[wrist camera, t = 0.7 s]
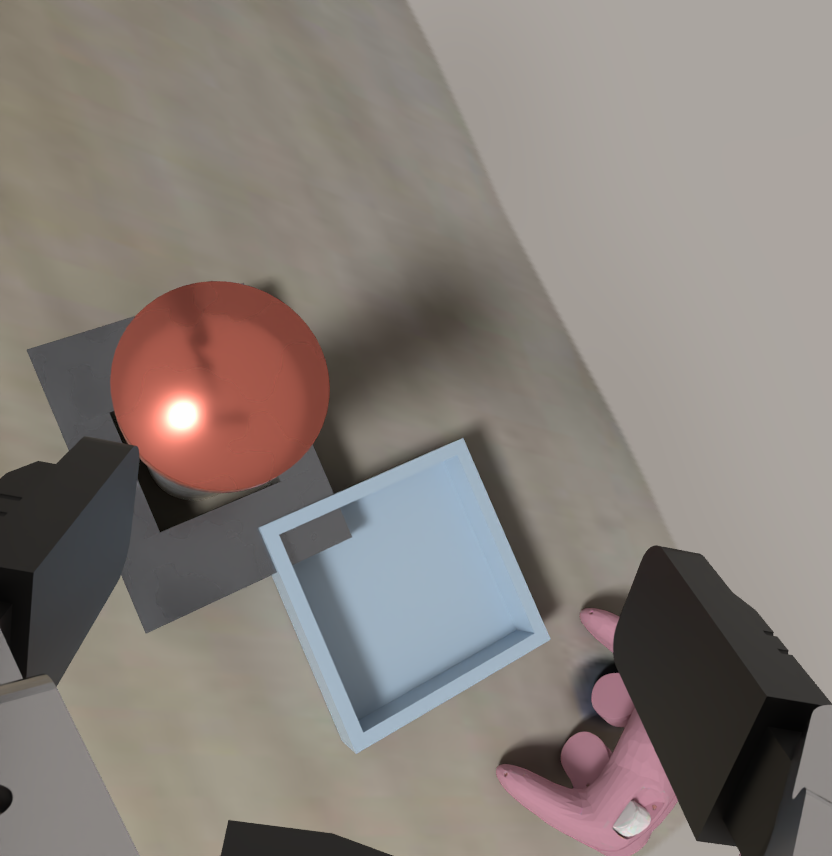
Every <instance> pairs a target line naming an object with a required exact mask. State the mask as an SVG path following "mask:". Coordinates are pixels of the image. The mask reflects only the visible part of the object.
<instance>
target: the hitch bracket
mask: <svg viewBox="0 0 832 856" xmlns="http://www.w3.org/2000/svg"><path fill="white" fill-rule="evenodd" d="M242 284H243V285H244V283H242ZM134 318H135V317H131V318H128V319H125V320H122V321H118V322H115V323H112V324H109V325H105V326H102V327H99V328H96V329H92V330H89V331H86V332H83V333H79V334H76V335H73V336H70V337H66V338H63V339H60V340H57V341H53V342H50V343H47V344H44V345H40V346H37V347H34V348H31V349H27V352H28V354H29V357H30V359H31V361H32V364H33V366H34V369H35V371H36V373H37V376H38V378H39V380H40V383H41V385H42V388H43V390H44V392H45V395H46V397H47V400H48V402H49V404H50V407H51V409H52V411H53V414H54V416H55V419H56V421H57V423H58V426H59V428H60V430H61V433H62V435H63V438H64V440H65V442H66V445H67V447H68V449H69V451H70V450H71V449H72V448H73V447H74V446H75V444H76V443H77V442H78V441H79V440H80V439H81V438H83V437H85V436H87V437H92V438H98V439H103V440H108V441H113V442H119V443H122V441H121V439H120V437H119V434H118V432H117V429H116V427H115V425H114V422H113V420H116V416H115V412H114V407H113V402H112V397H111V385H110V377H111V367H112V362H113V358H114V354H115V350H116V348H117V345H118V343H119V341H120V338H121V336H122V335H123V333H124V331H125V330H126V328H127V326H128V325H129V324H130V323H131V321H132V320H133V319H134ZM271 482H272V484H273V485H272V486H269V487H267V488H265V489H262V490H260V491H257V492H255V493H253V494H250V495H248V496H246V497H243V498H241V499H238V500H236V501H234V502H231V503H229V504H226V505H224V506H222V507H219V508H217V509H215V510H212V511H210V512H207V513H205V514H203V515H200V516H198V517H195V518H193V519H191V520H188V521H186V522H184V523H181V524H179V525H176V526H174V527H172V528H169V529H167V530H165V531H162V532H160V531H159V529H158V527H157V524H156V522H155V519H154V517H153V515H152V512H151V510H150V508H149V505H148V503H147V501H146V498H145V496H144V493H143V491H142V489H141V486H140V484H139V482H138V479H137V486H136V494H135V503H134V511H133V520H132V528H131V537H130V544H129V549H128V553H127V557H126V561H125V564H124V567H123V570H122V573H121V576H122V578H123V580H124V583H125V585H126V587H127V590H128V592H129V595H130V597H131V599H132V602H133V604H134V607H135V609H136V611H137V614H138V616H139V618H140V621H141V623H142V626H143V628H144V630H145V633H148V632H150V631H153V630H155V629H157V628H159V627H161V626H163V625H165V624H168V623H170V622H172V621H174V620H176V619H178V618H180V617H183V616H185V615H187V614H189V613H191V612H193V611H195V610H198V609H200V608H202V607H204V606H206V605H208V604H210V603H212V602H215V601H217V600H219V599H221V598H223V597H225V596H227V595H230V594H232V593H234V592H236V591H238V590H240V589H242V588H245V587H247V586H249V585H251V584H253V583H255V582H257V581H260V580H262V579H264V578H266V577H268V576H270V575H272V574H275V573H277V570H276V568H275V566H274V563H273V561H272V558H271V556H270V554H269V551H268V549H267V547H266V544H265V542H264V540H263V537H262V535H261V533H260V530H259V527H261V526H263V525H266V524H268V523H270V522H273V521H275V520H277V519H279V518H282V517H284V516H286V515H289V514H291V513H293V512H295V511H298V510H300V509H302V508H304V507H307V506H309V505H311V504H314V503H316V502H318V501H320V500H323V499H325V498H327V497H330V496H332V495H334V493H333V491H332V488H331V486H330V484H329V481H328V479H327V477H326V474H325V472H324V470H323V467H322V465H321V463H320V460H319V458H318V456H317V453H316V451H315V449H314V446H313V444H312V446H311V447H310V449H309V450H308V451H307V452H306V453H305V455H304V456H303V457H302V458H301V459H300V460H299V461H298V462H297V463H295V464H294V465H293V466H292V467H291V468H289V469H288V470H286V471H285V472H283V473H282V474H280V475H279V476H277V477H276V478H274V479H273V480H271ZM279 536H280V538H281V541H282V543H283V545H284V548H285V550H286V552H287V555H288V557H289V559H290V562H291V564H292V565H294V564H296V563H298V562H300V561H302V560H305V559H307V558H309V557H311V556H313V555H315V554H317V553H320V552H322V551H324V550H326V549H328V548H330V547H332V546H335V545H337V544H339V543H341V542H343V541H345V540H347V539H350V538H352V535H351V533H350V530H349V528H348V526H347V523H346V521H345V519H344V516H343V514H342V512H341V509H340V508H338V509H335V510H333V511H331V512H329V513H326V514H324V515H322V516H320V517H318V518H315V519H313V520H311V521H309V522H306V523H304V524H302V525H300V526H297V527H295V528H293V529H291V530H288V531H286V532H284V533H282V534H280V535H279Z"/></svg>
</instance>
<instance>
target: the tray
mask: <svg viewBox="0 0 832 856" xmlns="http://www.w3.org/2000/svg"><path fill="white" fill-rule="evenodd" d="M338 508H340V509H341V512H342V514H343V516H344V519H345V521H346V523H347V526H348V528H349V530H350V533H351V535H352V538H350V539H347V540H345V541H343V542H341V543H339V544H337V545H335V546H332V547H330V548H328V549H326V550H324V551H322V552H320V553H317V554H315V555H313V556H311V557H309V558H307V559H305V560H302V561H300V562H298V563H296V564H294V565H292V564H291V562H290V559H289V557H288V555H287V552H286V550H285V548H284V545H283V543H282V541H281V538H280V536H279V535H280V534H282V533H284V532H286V531H288V530H291V529H293V528H295V527H297V526H300V525H302V524H304V523H306V522H309V521H311V520H313V519H315V518H318V517H320V516H322V515H324V514H326V513H329V512H331V511H333V510H335V509H338ZM259 530H260V533H261V535H262V537H263V540H264V542H265V544H266V547H267V549H268V551H269V554H270V556H271V558H272V561H273V563H274V566H275V568H276V570H277V573H275V574H272V577H273V580H274V582H275V584H276V587H277V589H278V591H279V594H280V596H281V599H282V601H283V603H284V606H285V608H286V610H287V613H288V615H289V617H290V620H291V622H292V624H293V627H294V629H295V631H296V634H297V636H298V639H299V641H300V643H301V646H302V648H303V650H304V653H305V655H306V657H307V660H308V662H309V664H310V667H311V669H312V671H313V674H314V676H315V678H316V681H317V683H318V686H319V688H320V690H321V693H322V695H323V697H324V700H325V702H326V704H327V707H328V709H329V711H330V714H331V716H332V718H333V721H334V723H335V725H336V728H337V730H338V733H339V735H340V737H341V740H342V741H343V742H344V743H345V744H346V745H347V746H348V747H349V748H350V749H351V750H353V751H354V752H355V753H356V754H357V753H358V752H360V751H362V750H364V749H365V748H367V747H369V746H370V745H372V744H374V743H375V742H377V741H379V740H381V739H382V738H384V737H386V736H387V735H389V734H391V733H392V732H394V731H396V730H398V729H399V728H401V727H403V726H404V725H406V724H408V723H409V722H411V721H413V720H415V719H416V718H418V717H420V716H421V715H423V714H425V713H426V712H428V711H430V710H432V709H433V708H435V707H437V706H438V705H440V704H442V703H443V702H445V701H447V700H449V699H450V698H452V697H454V696H455V695H457V694H459V693H460V692H462V691H464V690H466V689H467V688H469V687H471V686H472V685H474V684H476V683H477V682H479V681H481V680H483V679H484V678H486V677H488V676H489V675H491V674H493V673H494V672H496V671H498V670H500V669H501V668H503V667H505V666H506V665H508V664H510V663H511V662H513V661H515V660H517V659H518V658H520V657H522V656H523V655H525V654H527V653H528V652H530V651H532V650H534V649H535V648H537V647H539V646H540V645H542V644H544V643H545V642H547V641H549V640H551V639H550V637H549V635H548V632H547V630H546V628H545V625H544V623H543V621H542V619H541V616H540V614H539V612H538V609H537V607H536V605H535V602H534V600H533V598H532V595H531V593H530V591H529V589H528V586H527V584H526V582H525V579H524V577H523V575H522V572H521V570H520V568H519V566H518V563H517V561H516V559H515V556H514V554H513V552H512V549H511V547H510V545H509V542H508V540H507V538H506V536H505V533H504V531H503V529H502V526H501V524H500V522H499V519H498V517H497V515H496V513H495V510H494V508H493V506H492V503H491V501H490V499H489V496H488V494H487V492H486V490H485V487H484V485H483V483H482V480H481V478H480V476H479V473H478V471H477V469H476V466H475V464H474V462H473V460H472V457H471V455H470V453H469V450H468V448H467V446H466V443H465V441H464V439H463V438H462V439H459V440H457V441H454V442H452V443H449V444H447V445H444V446H442V447H440V448H437V449H435V450H433V451H431V452H428V453H426V454H424V455H421V456H419V457H417V458H415V459H412V460H410V461H408V462H405V463H403V464H401V465H399V466H396V467H394V468H392V469H390V470H387V471H385V472H383V473H380V474H378V475H376V476H374V477H371V478H369V479H367V480H364V481H362V482H360V483H358V484H355V485H353V486H351V487H348V488H346V489H344V490H342V491H339V492H337V493H335V494H334V495H332V496H330V497H327V498H325V499H323V500H320V501H318V502H316V503H314V504H311V505H309V506H307V507H304V508H302V509H300V510H298V511H295V512H293V513H291V514H289V515H286V516H284V517H282V518H279V519H277V520H275V521H273V522H270V523H268V524H266V525H263V526H261V527H259Z"/></svg>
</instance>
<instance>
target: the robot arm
mask: <svg viewBox="0 0 832 856" xmlns="http://www.w3.org/2000/svg"><path fill="white" fill-rule="evenodd" d="M138 469H139V449H138V447H137V446H135V445H129V444H124V443H119V442H113V441H108V440H103V439H98V438H92V437H87V436H85V437H83V438H81V439H80V440H79V441H78V442H77V443H76V444H75V446H74V447H73V448H72V449H71V450H70V451H69V452H68V453H67V454H66V455H65V456H64V457H63V458H62V459H61V460H60V461H59V462H58V463H57V464H52V463H46V462H41V461H37V462H34V463H32V464H29V465H27V466H24V467H21V468H19V469H16V470H14V471H11V472H8V473H6V474H5V475H4V476H3V477H2V478H0V856H140V855H139V853H138V851H137V849H136V847H135V845H134V843H133V841H132V839H131V837H130V835H129V833H128V831H127V829H126V827H125V825H124V823H123V821H122V819H121V817H120V815H119V813H118V811H117V809H116V807H115V805H114V803H113V801H112V798H111V796H110V794H109V792H108V790H107V788H106V786H105V784H104V782H103V780H102V778H101V776H100V774H99V772H98V770H97V768H96V766H95V764H94V762H93V760H92V758H91V756H90V754H89V752H88V750H87V748H86V746H85V744H84V742H83V740H82V738H81V736H80V734H79V732H78V730H77V728H76V726H75V724H74V722H73V719H72V717H71V715H70V713H69V711H68V709H67V707H66V705H65V703H64V701H63V699H62V697H61V695H60V693H59V691H58V689H57V685H58V683H59V681H60V680H61V678H62V676H63V675H64V673H65V671H66V669H67V668H68V666H69V664H70V663H71V661H72V659H73V657H74V656H75V654H76V652H77V651H78V649H79V647H80V645H81V644H82V642H83V640H84V639H85V637H86V635H87V633H88V632H89V630H90V628H91V627H92V625H93V623H94V621H95V620H96V618H97V616H98V615H99V613H100V611H101V609H102V608H103V606H104V604H105V603H106V601H107V599H108V597H109V596H110V594H111V592H112V591H113V589H114V587H115V585H116V584H117V582H118V580H119V578H120V576H121V573H122V570H123V567H124V564H125V561H126V557H127V553H128V549H129V544H130V537H131V528H132V520H133V511H134V503H135V494H136V486H137V478H138ZM773 633H774V632H773V631H772V630H771V628H770V627H769V626H768V625H767V624H766V623H765V621H764V620H763V619H762V617H761V616H760V615H759V614H758V613H757V611H755V610H754V609H753V608H752V607H751V606H749V605H748V604H747V603H746V602H744V601H743V600H742V599H740V598H739V597H738V596H736V595H735V594H734V593H733V592H732V591H731V590H730V589H729V588H728V586H727V585H726V584H725V583H724V581H723V580H722V579H721V577H720V576H719V575H718V574H717V572H716V571H715V570H714V569H713V567H712V566H711V565H710V564H709V562H708V561H707V560H706V559H705V557H703V555H701V554H698V553H693V552H688V551H682V550H677V549H672V548H667V547H661V546H652V547H650V548H649V549H648V550H647V551H646V553H645V554H644V556H643V558H642V561H641V563H640V566H639V568H638V571H637V573H636V576H635V579H634V581H633V584H632V586H631V589H630V592H629V594H628V597H627V599H626V602H625V605H624V607H623V610H622V612H621V615H620V618H619V620H618V623H617V626H616V629H615V633H614V639H613V655H614V661H615V665H616V667H617V670H618V672H619V674H620V676H621V678H622V680H623V683H624V685H625V687H626V689H627V691H628V693H629V696H630V698H631V700H632V702H633V704H634V706H635V709H636V711H637V713H638V715H639V717H640V719H641V722H642V724H643V726H644V728H645V730H646V732H647V735H648V737H649V739H650V741H651V743H652V745H653V748H654V750H655V752H656V754H657V756H658V758H659V761H660V763H661V765H662V767H663V769H664V771H665V774H666V776H667V778H668V780H669V782H670V784H671V787H672V789H673V791H674V793H675V795H676V797H677V800H678V802H679V804H680V806H681V808H682V810H683V813H684V815H685V817H686V819H687V821H688V823H689V826H690V828H691V830H692V832H693V834H694V836H695V838H696V841H701V842H708V843H715V844H722V845H730V846H737V847H738V849H739V851H740V854H739V856H832V703H831V702H830V701H829V700H828V698H827V697H826V696H825V695H824V693H823V692H822V691H821V690H820V689H819V687H818V686H817V685H816V684H815V682H814V681H813V680H812V679H811V678H810V676H809V675H808V674H807V673H806V672H805V670H804V669H803V668H802V666H801V665H800V664H799V663H798V662H797V660H796V659H795V658H794V657H793V655H788V649H787V648H786V647H785V646H784V644H783V643H782V642H781V641H780V640H779V638H778V637H776V636H773ZM221 856H392V855H390V854H387V853H384V852H381V851H379V850H376V849H373V848H371V847H368V846H365V845H362V844H360V843H357V842H354V841H351V840H349V839H346V838H343V837H341V836H338V835H335V834H332V833H324V832H317V831H309V830H301V829H293V828H285V827H278V826H270V825H262V824H254V823H247V822H239V821H231V820H228V825H227V829H226V834H225V839H224V843H223V848H222V853H221Z"/></svg>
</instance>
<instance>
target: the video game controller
mask: <svg viewBox="0 0 832 856" xmlns="http://www.w3.org/2000/svg"><path fill="white" fill-rule="evenodd" d="M619 618H620V617H619V616H617V615H615V614H613V613H610V612H608V611H605V610H601V609H596V608H585V609H583V610H582V611H581V612H580V619H581V622H582V623H583V624H584V626H585V627H586V628H587V630H588V631H589V632H590V633H591V634H592V635H593V636H594V637H595V638H596V639H597V640H598V641H599V642H601V643H602V644H603V645H604V646H605V647H607V648H608V649H609V650H610V651H612V652H613V639H614V633H615V629H616V626H617V623H618V620H619ZM592 705H593V707H594V709H595V710H596V712H597V713H598V714H599V715H600V716H601V717H602V718H603V719H604V720H605V721H607V722H608V723H609V724H610V725H612V726H616V727H625V728H624V730H623V732H622V735H621V737H620V739H619V741H618V743H617V745H616V747H615V749H614V751H613V753H612V752H611V750H610V749H609V748H608V747H607V746H606V745H605V744H604V743H603V741H602V740H601V739H600V738H598V737H597V736H596V735H595V734H593V733H590V732H579V733H577V734H575V735H573V736H572V737H570V738H569V740H568V741H567V742H566V743H565V745H564V747H563V749H562V752H561V764H562V766H563V768H564V770H565V772H566V774H567V775H568V777H569V778H570V780H571V783H572V785H573V788H572V789H571V788H567V787H564V786H561V785H559V784H556V783H553V782H551V781H549V780H547V779H545V778H543V777H541V776H539V775H537V774H535V773H533V772H531V771H529V770H527V769H524V768H521V767H518V766H514V765H510V764H502V765H499V766H498V767H497V769H496V775H497V777H498V779H499V781H500V783H501V785H502V786H503V787H504V788H505V790H506V791H507V792H508V793H509V794H510V795H512V796H513V797H514V798H515V799H516V800H517V801H518V802H519V803H521V804H522V805H523V806H524V807H525V808H527V809H528V810H530V811H531V812H533V813H534V814H535V815H537V816H538V817H540V818H541V819H542V820H543V821H545V822H546V823H547V824H549V825H551V826H552V827H554V828H556V829H557V830H559V831H561V832H563V833H564V834H566V835H568V836H570V837H572V838H574V839H576V840H578V841H580V842H581V843H583V844H585V845H587V846H589V847H591V848H593V849H595V850H597V851H599V852H600V853H602V854H604V855H606V856H630V855H632V854H634V853H636V852H637V851H639V850H640V849H641V848H642V847H643V846H644V845H645V844H646V843H647V841H648V839H649V838H650V835H651V833H652V831H653V830H654V829H655V828H656V827H658V826H659V825H660V824H661V823H662V821H663V820H664V819H665V818H666V816H667V815H668V814H669V813H670V811H671V810H672V809H673V808H674V806H675V805H676V803H677V801H678V800H677V797H676V795H675V793H674V791H673V789H672V787H671V784H670V782H669V780H668V778H667V776H666V774H665V771H664V769H663V767H662V765H661V763H660V761H659V758H658V756H657V754H656V752H655V750H654V748H653V745H652V743H651V741H650V739H649V737H648V735H647V732H646V730H645V728H644V726H643V724H642V722H641V719H640V717H639V715H638V713H637V711H636V709H635V706H634V704H633V702H632V700H631V698H630V696H629V693H628V691H627V689H626V687H625V685H624V683H623V680H622V678H621V676H620V674H619V673H611V674H607V675H604V676H603V677H601V678H600V679H599V680H598V681H597V682H596V684H595V686H594V688H593V691H592Z"/></svg>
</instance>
